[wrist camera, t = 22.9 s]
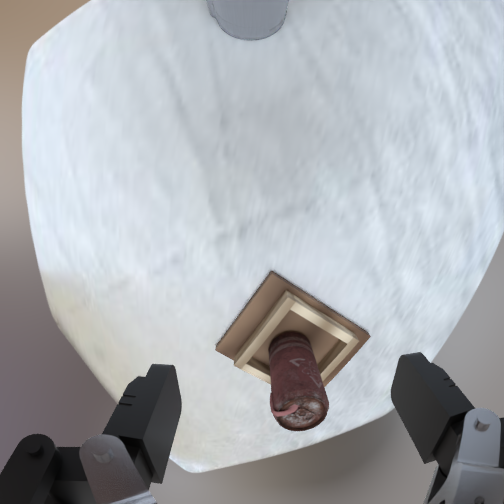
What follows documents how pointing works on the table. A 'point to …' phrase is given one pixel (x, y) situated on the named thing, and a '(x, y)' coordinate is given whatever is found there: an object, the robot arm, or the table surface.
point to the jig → (289, 330)
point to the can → (296, 383)
